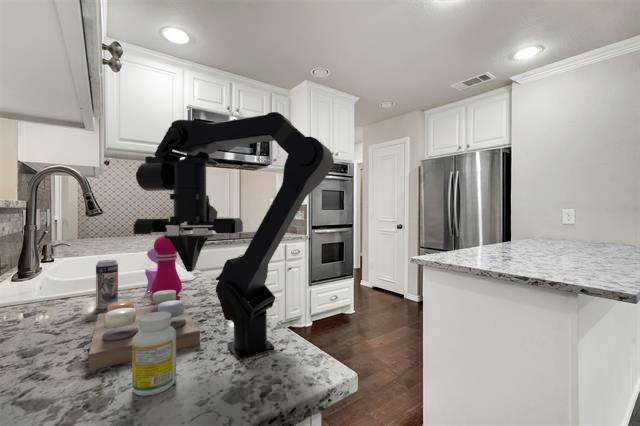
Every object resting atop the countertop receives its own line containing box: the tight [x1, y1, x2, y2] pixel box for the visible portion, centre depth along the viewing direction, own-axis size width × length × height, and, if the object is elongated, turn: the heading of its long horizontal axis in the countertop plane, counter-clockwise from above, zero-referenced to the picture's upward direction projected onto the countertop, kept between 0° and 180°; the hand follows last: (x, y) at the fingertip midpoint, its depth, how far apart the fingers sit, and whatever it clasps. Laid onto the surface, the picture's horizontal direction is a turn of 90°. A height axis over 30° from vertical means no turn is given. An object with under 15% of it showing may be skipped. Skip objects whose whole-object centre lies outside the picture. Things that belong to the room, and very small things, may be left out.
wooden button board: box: [88, 305, 201, 372], centre depth 58 cm, size 22×16×3 cm
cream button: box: [105, 307, 135, 328], centre depth 51 cm, size 4×4×2 cm
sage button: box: [152, 290, 176, 305], centre depth 64 cm, size 4×4×2 cm
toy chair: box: [144, 246, 178, 293], centre depth 89 cm, size 8×9×15 cm
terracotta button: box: [107, 300, 135, 312], centre depth 59 cm, size 4×4×2 cm
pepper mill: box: [150, 232, 183, 306], centre depth 77 cm, size 7×7×20 cm
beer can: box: [95, 259, 119, 310], centre depth 75 cm, size 5×5×12 cm
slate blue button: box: [158, 299, 185, 318], centre depth 56 cm, size 4×4×2 cm
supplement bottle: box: [131, 312, 177, 397], centre depth 40 cm, size 5×5×10 cm
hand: (190, 271), depth 55 cm, fingers closed
